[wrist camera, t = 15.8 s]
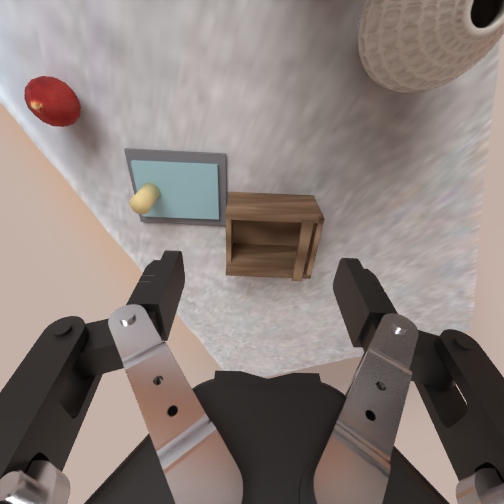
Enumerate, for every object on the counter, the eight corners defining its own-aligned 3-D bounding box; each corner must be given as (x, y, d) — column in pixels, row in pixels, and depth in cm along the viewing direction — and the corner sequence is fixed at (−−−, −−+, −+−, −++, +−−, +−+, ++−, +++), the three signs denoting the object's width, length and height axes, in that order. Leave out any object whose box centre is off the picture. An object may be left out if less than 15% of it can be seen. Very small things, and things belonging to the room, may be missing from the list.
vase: (420, 91, 37) (517, 106, 23) (332, 84, 37) (379, 95, 23) (471, -41, 30) (656, -131, 16) (360, -53, 29) (454, -154, 15)
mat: (125, 148, 42) (124, 149, 41) (225, 153, 42) (225, 154, 42) (141, 220, 49) (140, 221, 49) (226, 223, 50) (226, 225, 49)
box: (229, 191, 46) (224, 217, 38) (313, 195, 46) (325, 221, 39) (229, 247, 53) (225, 278, 45) (302, 250, 53) (310, 281, 46)
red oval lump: (56, 119, 39) (17, 130, 33) (41, 73, 36) (-6, 75, 29) (95, 122, 39) (65, 134, 33) (84, 77, 36) (47, 80, 30)
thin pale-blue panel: (132, 160, 42) (115, 173, 37) (217, 164, 42) (213, 177, 37) (144, 214, 48) (131, 232, 43) (219, 217, 48) (215, 235, 43)
